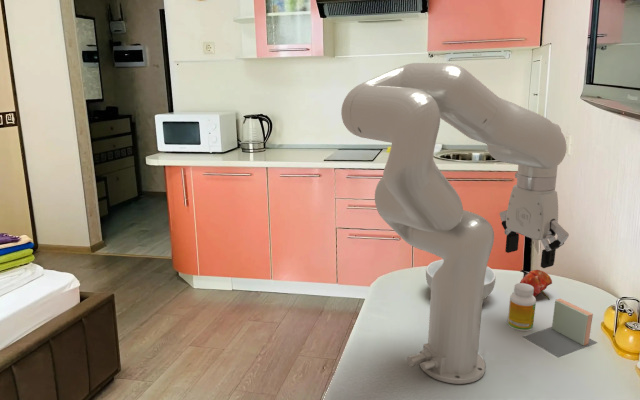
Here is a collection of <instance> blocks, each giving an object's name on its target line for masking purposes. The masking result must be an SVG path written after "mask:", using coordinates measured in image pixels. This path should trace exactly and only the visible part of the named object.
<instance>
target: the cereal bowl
mask: <svg viewBox="0 0 640 400" xmlns="http://www.w3.org/2000/svg"><path fill="white" fill-rule="evenodd" d="M443 262H444V260H443V259H442V258H441V259H438V260H434V261H432V262H430V263H429V264H428V265H427V267H426V269H425V279H426V284H427V286H428V287H429V290H431V283H432V278H433V276H434V274H435V272H436V271H437V270H438V269H439V268H440V267H441V266H442V264H443ZM495 285H496V272H495V271H494V270H493V269H492V268H491V267H490V266H488V265H487V268H486V273H485V280H484V289H483V300H484V299H487V297H488V296H489V295H491V293H492V291H493V290H494V288H495Z"/></svg>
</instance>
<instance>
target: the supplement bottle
mask: <svg viewBox="0 0 640 400" xmlns="http://www.w3.org/2000/svg"><path fill="white" fill-rule="evenodd" d="M513 290H514V291H513V292H512V293H511V294H510V297H509V304H508V305H509V306H508V313H507V325H508V326H509V327H510V329H513V330H516V331H520V332H528V331H532V329H534V321H535V315H536V313H535V311H536V303H537V299H536V297H534V296H533V293H534V287H533V286H531V285H529V284H525V283H520V282H518V283H515V285H514V288H513Z"/></svg>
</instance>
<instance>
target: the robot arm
mask: <svg viewBox="0 0 640 400" xmlns="http://www.w3.org/2000/svg"><path fill="white" fill-rule="evenodd" d="M340 116H341V120H342V123H343V125H344V127H345V128H346V129H347V131H348V132H350V133H351V134H352V135H354V136H356V137H359V138H362V139H367V140H374V141H380V142H384V143H390V144H391V146H390V151H389V153H388V158H387V161H386V164H385V165H384V169H383V173H382V174H383V175H382V176H381V178H380V179H379V181H378V182H377V185H376V188H375V191H374V203H375V208H376V211H377V212H378V215H379V216H380V218H382V220H383V221H384V222H385V223H386V224H387V225H388V226H389V227H390V228H391V229H392V230H393V231H394V232H395V233H396V234H397V235H398V236H399V237H400V238H401V239H402V240H403V241H404V242H405V243H407V244H408V245H409V246H411V247H414V248H416V249H418V250H420V251H424V252H426V253H429V254H432V255H435V256H436V257H438V258H440V259H441V260H442V259H443V260H444V262H443V264H442V266H441V267H440V268H439V269H438V270H437V271H436V272H435V274H434V276H433V278H432V283H431V289H430V300H429V301H430V302H429V318H428V320H429V322H428V336H427V337H428V338H427V340H428V341H427V343H424V344H423V348H422V349H423V350H421V351H420V352H419V353H418V354H416V353H415V354H413V355H409V356H407V358H406V363H407V364H408V366H409V367H416V366H418V365H419V366H420V368H421V370H422V371H423V372H424V373H425V374H427V375H428V376H429V377H431V378H433V379H435V380H438V381H440V382H444V383H446V384H447V383H448V384H454V385H455V384H456V385H457V384H458V385H461V384H462V385H463V384H471V383H474V382H476V381H478V380H480V379H481V378H483V376H484V375H485V372H486V362H485V360H484V359H483V357H482V355H480V354H479V346H480V345H479V344H480V336H481V335H480V332H481V323H482V322H481V321H482V311H483V300H484V299H483V289H484V280H485V273H486V268H487V266H488V263H489V261H490V255H491V252H492V249H493V245H494V242H495V241H494V240H495V231H494V228H493V225H491V223H490V222H489V221H488V220H487V219H486V218H485V217H483V216H481V215H480V214H478V213H475V212H471V211H469V210H466V209H465V210H464V207H463V203H462V200H461V197H460V195H459V194H458V192H457V191H456V189H455V188H454V186H453V185H452V184H451V182H449V179H447V178H446V176H445V175H444V173H442V172H441V170H440V168H439V167H438V166H437V164H436V162H435V160H434V156H435V155H434V154H435V147H436V144H437V138H438V134H439V130H440V126H441V120H442V121H444V122H445V123H447V124H448V125H450V126H452V127H453V128H454V129H456V131H458V132H460V133H461V134H462V135H464V136H465V137H467V138H469V139H471V140H473V141H476V142H480V143H483V144H485V145H486V146H487V147H486V148H487V152H488V153H489V155H490V157H492V158H493V159H495V160H496V161H499V162H501V163H506V164H511V165H517V172H516V173H515V174H514V178H516V184H514V185H513V187H512V190H511V193H510V196H509V200H508V205H507V209H506V210H502V211H500V212H499V217H500V219H501V226H502V228H503V229H504V231H503V233H504V235H506V242H505V253H506V254H507V253H508V254H509V253H514V252H517V251H518V250H519V242H520V235H521V236H524V237H526V238H529V239H531V240H535V241H541V243H542V245H543V247H544V249H543V250H542V251H541V256H540V257H541V259H540V267H541V268H542V269H546V268H547V269H548V268H550V267H554V265H555V260H556V259H555V258H556V250H557V249H559V248H560V247H562V246H563V245H564V244H565V242H566V241H567V240H568V238H569V237H570V234H569V233H568V232H567V230H565V229H564V228H563V226H562V225H561V224H559V223H558V222H559V199H558V191H557V190H556V183H557V176H558V166H559V165H561V163H562V162H563V160H564V159H565V157H566V153H567V141H566V138H565V135H564V134H563V132H562V128H561V127H560V125H559V124H557V123H555V122H553V121H551V120H550V119H548V118H547V117H545V116H543V115H541V114H539V113H536V112H535V111H534V110H533V111H532V110H530V109H527V108H525V107H522V106H521V105H519V104H516V103H513V102H511V101H509V100H507V99H503V98H501V97H499V96H498V95H497V94H495V92H493V91H492V90H491V89H490V88H488V87H487V86H486V85H485V84H484V83H482V82H481V81H480V80H479V79H478V78H476V77H475V76H474V75H473V74H472V73H470V72H469V70H467V69H466V68H464V67H462V66H461V65H459V64H454V63H448V62H447V63H446V62H445V63H444V62H442V63H441V62H439V63H438V62H436V63H435V62H413V63H407V64H405V65H401V66H398V67H397V68H394V69H392V70H389V71H386V72H384V73H382V74H380V75H378V76H376V77H373V78H371V79H369V80H367V81H364V82H362V83H360V84H358V85H356V86H355V87H353V88H352V89H350V91H349V92H348V93H347V95H346V96H345V98H344V99H343V102H342V105H341V115H340ZM556 235H557V236H556Z"/></svg>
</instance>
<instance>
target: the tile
mask: <svg viewBox="0 0 640 400" xmlns="http://www.w3.org/2000/svg"><path fill="white" fill-rule="evenodd" d="M593 316H594V314H593V312H590V311H588V310H585V309H584V308H581V307H580V306H577V305H575V304H573V303H570V301H566V300H564V299H562V298H557V299H555V302H554V309H553V316H552V323H551V327H552V329H553V330H555V331H557V332H559V333H561V334H563V335H565V336H566V337H568V338H570V339H572V340H574V341H576V342H578V343H579V344H581V345H584V346H585V345H587V344H589V338H590V336H591V330H592V323H593Z"/></svg>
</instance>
